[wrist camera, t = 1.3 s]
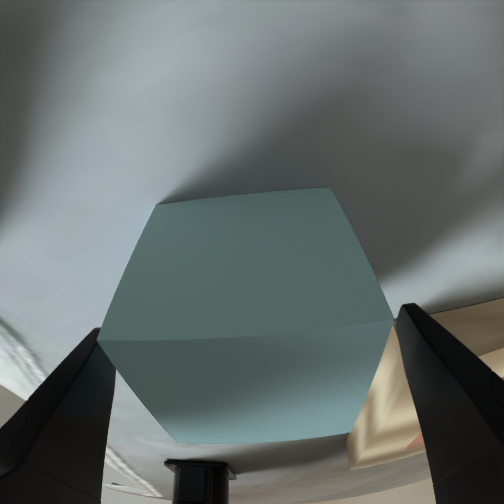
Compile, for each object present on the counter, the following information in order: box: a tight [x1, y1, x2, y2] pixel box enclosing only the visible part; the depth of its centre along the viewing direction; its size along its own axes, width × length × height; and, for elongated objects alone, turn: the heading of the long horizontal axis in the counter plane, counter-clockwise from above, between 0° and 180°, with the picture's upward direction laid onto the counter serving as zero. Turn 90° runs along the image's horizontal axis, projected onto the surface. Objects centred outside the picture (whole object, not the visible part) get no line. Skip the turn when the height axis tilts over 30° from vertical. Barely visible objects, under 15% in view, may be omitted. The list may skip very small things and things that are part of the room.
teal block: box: [97, 187, 394, 444], centre depth 9 cm, size 6×6×6 cm
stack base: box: [345, 298, 504, 471], centre depth 16 cm, size 16×16×3 cm
